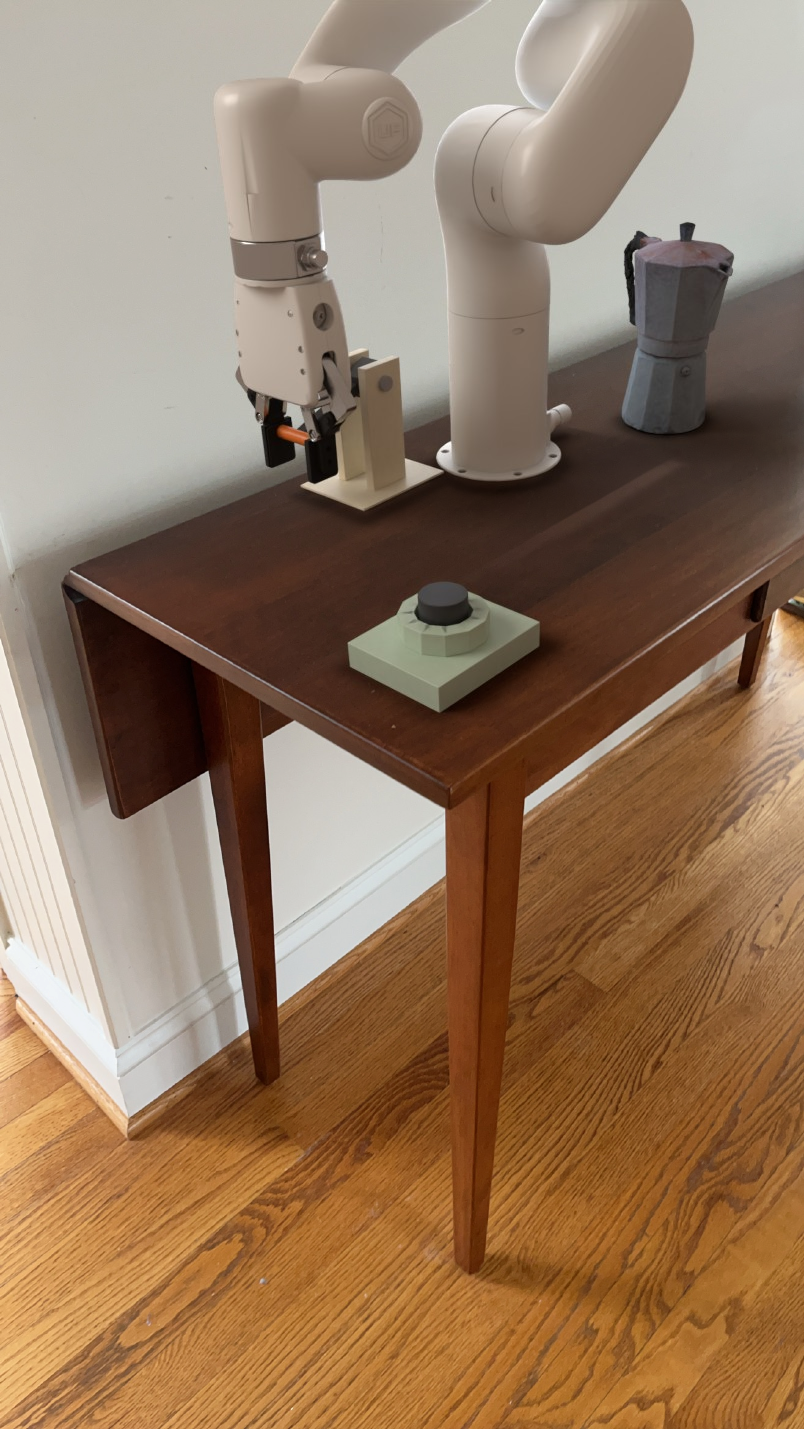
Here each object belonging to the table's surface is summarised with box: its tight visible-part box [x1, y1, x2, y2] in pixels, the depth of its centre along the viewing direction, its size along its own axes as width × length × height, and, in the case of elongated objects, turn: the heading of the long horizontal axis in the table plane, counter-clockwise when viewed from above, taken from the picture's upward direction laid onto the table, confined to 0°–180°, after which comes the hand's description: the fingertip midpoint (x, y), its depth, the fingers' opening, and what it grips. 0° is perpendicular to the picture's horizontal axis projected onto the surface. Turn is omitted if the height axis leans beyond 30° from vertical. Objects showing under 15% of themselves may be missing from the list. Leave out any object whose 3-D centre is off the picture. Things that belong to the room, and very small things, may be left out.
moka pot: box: [621, 221, 735, 435], centre depth 106 cm, size 10×15×20 cm, turn 33°
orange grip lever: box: [277, 357, 379, 447], centre depth 93 cm, size 11×5×2 cm, turn 136°
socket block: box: [347, 591, 541, 713], centre depth 75 cm, size 11×9×4 cm
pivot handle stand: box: [300, 347, 445, 512], centre depth 97 cm, size 11×9×13 cm
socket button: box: [417, 581, 469, 626], centre depth 73 cm, size 4×4×2 cm
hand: (301, 468), depth 93 cm, fingers closed on orange grip lever, 5 cm apart
